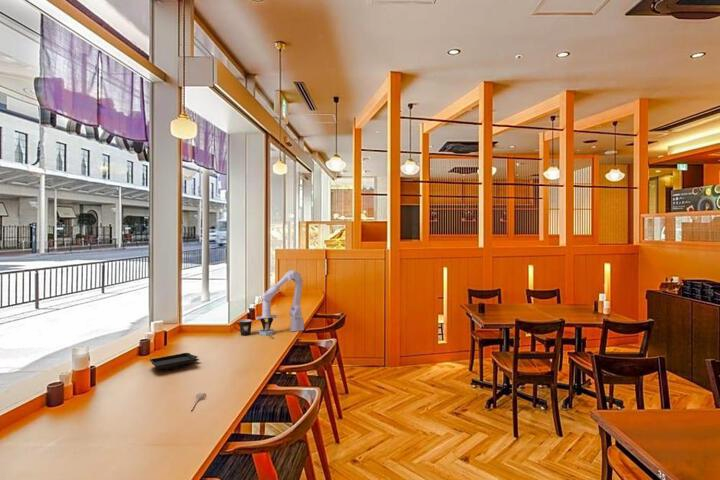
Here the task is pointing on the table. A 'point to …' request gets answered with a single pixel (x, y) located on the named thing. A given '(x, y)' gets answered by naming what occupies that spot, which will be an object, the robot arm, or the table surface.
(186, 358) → the tray
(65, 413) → the table surface
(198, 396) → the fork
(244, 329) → the coffee mug
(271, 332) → the bead ring
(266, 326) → the needle dowel
